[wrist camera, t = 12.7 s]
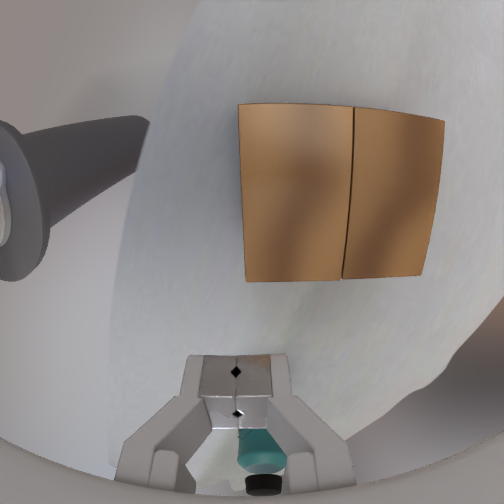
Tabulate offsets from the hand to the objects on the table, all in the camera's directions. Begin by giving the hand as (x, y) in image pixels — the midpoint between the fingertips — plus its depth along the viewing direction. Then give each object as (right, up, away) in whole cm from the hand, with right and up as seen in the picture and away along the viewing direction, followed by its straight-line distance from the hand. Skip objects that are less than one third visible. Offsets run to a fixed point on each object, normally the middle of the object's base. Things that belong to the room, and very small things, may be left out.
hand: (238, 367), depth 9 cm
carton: (+7, +12, +20) cm, 24 cm away
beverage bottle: (+2, -14, +33) cm, 36 cm away
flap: (+3, +7, +11) cm, 14 cm away
